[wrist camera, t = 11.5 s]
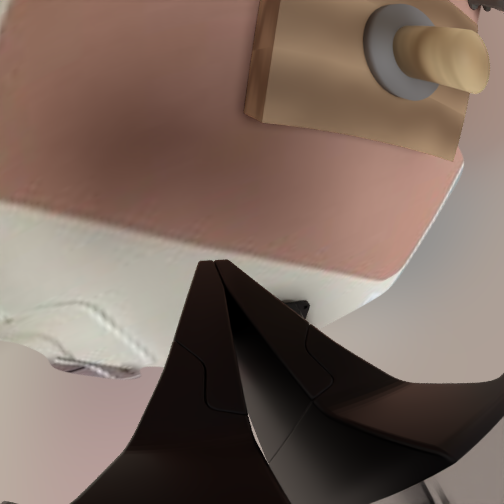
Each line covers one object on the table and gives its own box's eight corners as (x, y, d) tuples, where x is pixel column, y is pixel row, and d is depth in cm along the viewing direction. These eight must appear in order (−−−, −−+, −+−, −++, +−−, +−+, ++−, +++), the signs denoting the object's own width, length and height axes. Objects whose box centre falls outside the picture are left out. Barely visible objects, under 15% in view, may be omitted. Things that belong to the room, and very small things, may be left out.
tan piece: (396, 99, 20) (489, 133, 12) (327, 78, 18) (426, 98, 10) (408, 28, 16) (504, 39, 8) (339, -5, 14) (440, -21, 6)
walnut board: (423, 147, 24) (453, 161, 21) (243, 113, 18) (262, 122, 15) (446, 22, 16) (477, 25, 13) (270, -59, 11) (293, -80, 8)
